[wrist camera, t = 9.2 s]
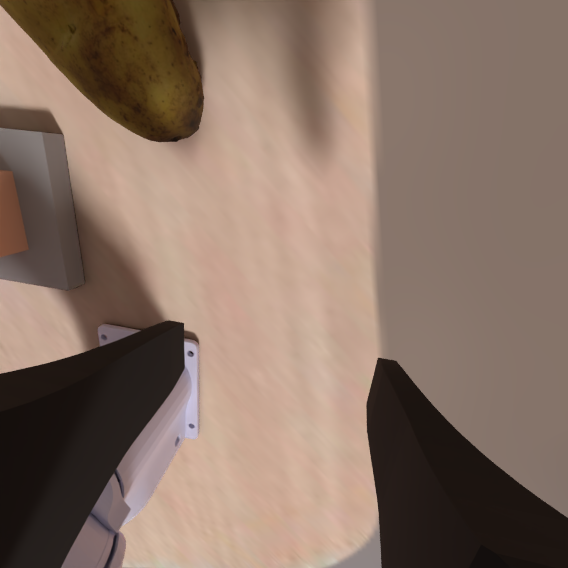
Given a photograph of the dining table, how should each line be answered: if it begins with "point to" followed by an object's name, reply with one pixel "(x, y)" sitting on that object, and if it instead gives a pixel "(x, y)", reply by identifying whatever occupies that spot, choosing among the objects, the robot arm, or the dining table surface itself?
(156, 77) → the potato
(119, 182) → the dining table surface
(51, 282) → the slate board
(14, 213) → the terracotta block
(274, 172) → the dining table surface
